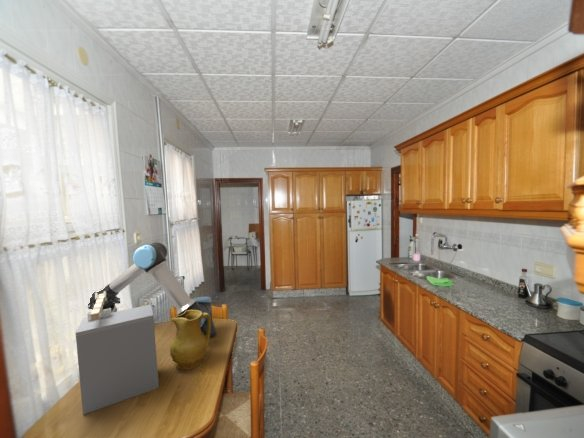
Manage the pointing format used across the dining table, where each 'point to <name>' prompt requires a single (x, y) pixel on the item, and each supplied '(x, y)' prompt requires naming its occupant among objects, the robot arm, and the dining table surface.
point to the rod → (97, 307)
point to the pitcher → (190, 339)
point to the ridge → (103, 314)
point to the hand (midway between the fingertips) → (100, 294)
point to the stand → (116, 357)
